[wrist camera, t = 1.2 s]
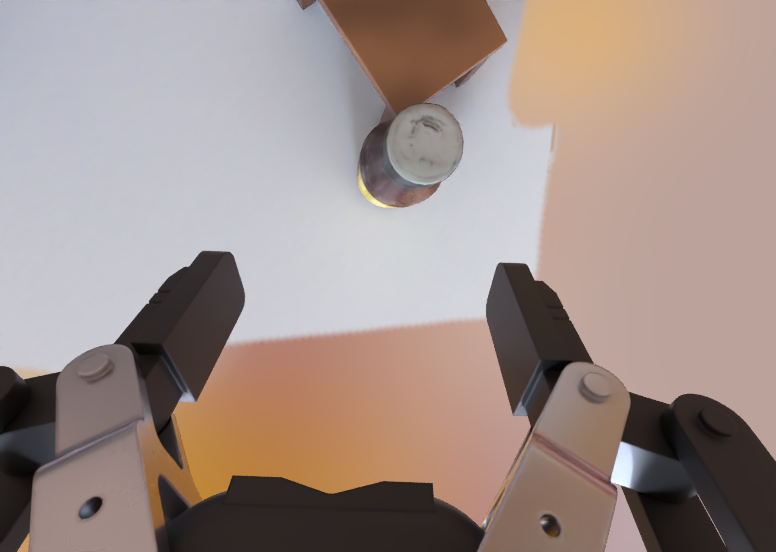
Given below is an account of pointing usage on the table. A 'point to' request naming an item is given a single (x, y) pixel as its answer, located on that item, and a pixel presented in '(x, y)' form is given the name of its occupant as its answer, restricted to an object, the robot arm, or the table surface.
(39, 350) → the table surface
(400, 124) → the sauce bottle
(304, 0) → the small brown wooden table
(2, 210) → the table surface
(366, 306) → the table surface
